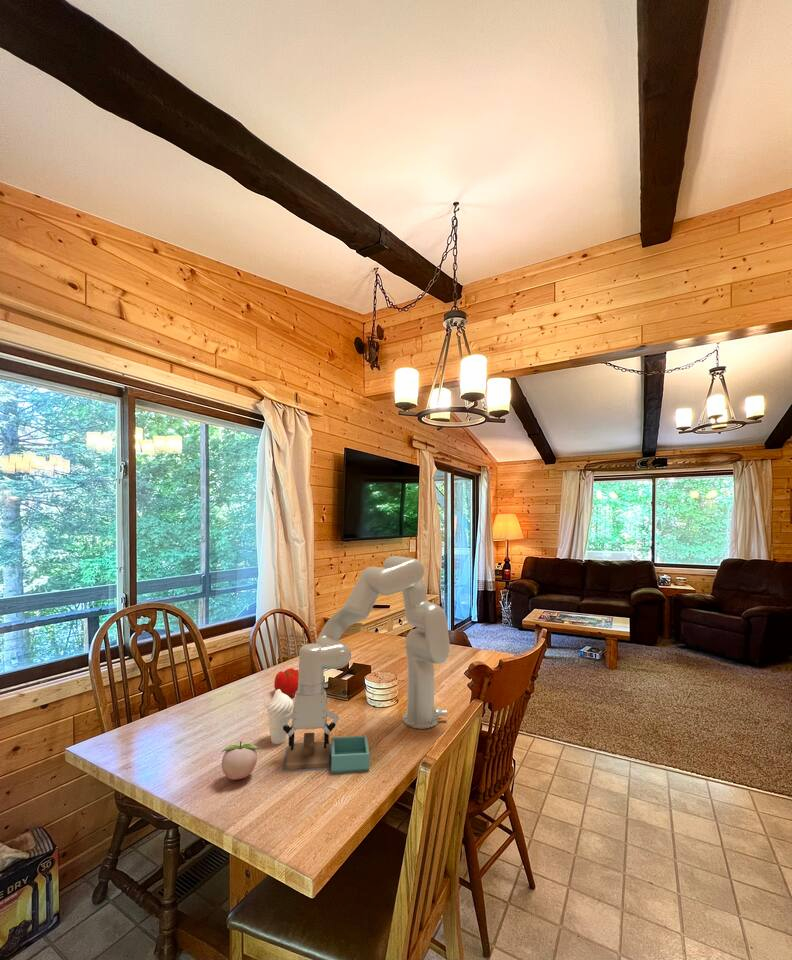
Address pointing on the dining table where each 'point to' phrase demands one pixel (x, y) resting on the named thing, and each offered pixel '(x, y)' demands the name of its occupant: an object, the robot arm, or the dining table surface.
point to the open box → (349, 754)
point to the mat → (305, 769)
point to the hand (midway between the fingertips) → (308, 747)
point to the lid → (308, 754)
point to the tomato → (287, 681)
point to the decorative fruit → (239, 761)
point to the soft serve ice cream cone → (278, 715)
